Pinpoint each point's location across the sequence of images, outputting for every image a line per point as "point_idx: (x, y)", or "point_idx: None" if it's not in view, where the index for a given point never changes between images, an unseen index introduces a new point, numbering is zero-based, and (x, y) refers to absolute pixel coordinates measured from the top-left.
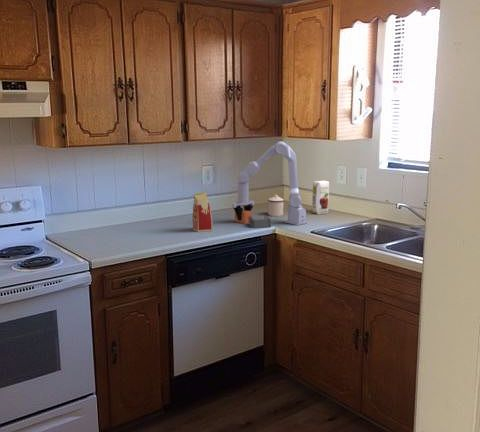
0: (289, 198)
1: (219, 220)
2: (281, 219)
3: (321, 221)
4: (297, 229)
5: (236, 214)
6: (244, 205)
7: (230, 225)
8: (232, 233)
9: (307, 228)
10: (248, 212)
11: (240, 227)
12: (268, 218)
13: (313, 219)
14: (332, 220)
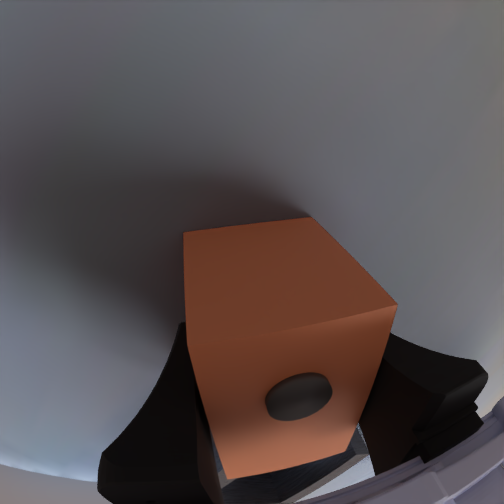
0: (488, 501)
1: (40, 63)
2: (476, 347)
3: (476, 410)
4: (323, 489)
5: (162, 374)
6: (347, 496)
7: (46, 362)
8: (24, 462)
9: (359, 480)
10: (288, 461)
11: (102, 432)
12: (304, 494)
13: (498, 380)
14: (493, 402)
